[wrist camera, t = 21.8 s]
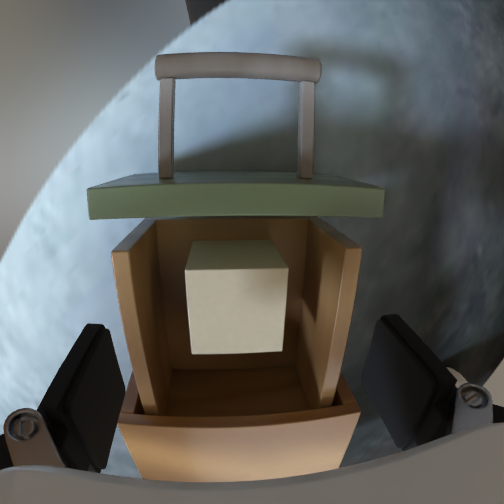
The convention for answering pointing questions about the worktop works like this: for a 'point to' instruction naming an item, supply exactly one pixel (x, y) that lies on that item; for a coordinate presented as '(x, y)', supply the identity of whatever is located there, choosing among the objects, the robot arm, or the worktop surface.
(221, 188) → the drawer
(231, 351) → the block
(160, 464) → the cabinet
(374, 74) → the worktop surface
